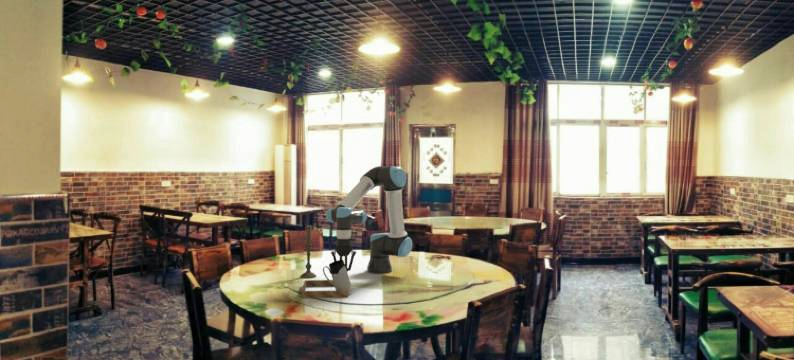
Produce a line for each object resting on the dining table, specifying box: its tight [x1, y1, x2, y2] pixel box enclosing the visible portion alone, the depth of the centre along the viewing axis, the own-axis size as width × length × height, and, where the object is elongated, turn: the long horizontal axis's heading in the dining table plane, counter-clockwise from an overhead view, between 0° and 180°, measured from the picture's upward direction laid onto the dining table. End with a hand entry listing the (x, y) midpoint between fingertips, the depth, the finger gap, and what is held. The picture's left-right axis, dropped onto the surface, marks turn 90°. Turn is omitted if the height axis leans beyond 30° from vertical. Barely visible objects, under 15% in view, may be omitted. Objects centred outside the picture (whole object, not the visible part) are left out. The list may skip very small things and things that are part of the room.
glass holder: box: [322, 259, 354, 293], centre depth 243 cm, size 9×14×15 cm, turn 59°
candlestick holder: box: [299, 225, 317, 279], centre depth 279 cm, size 9×9×30 cm
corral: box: [300, 279, 349, 299], centre depth 246 cm, size 22×24×3 cm
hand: (343, 284), depth 247 cm, fingers closed
